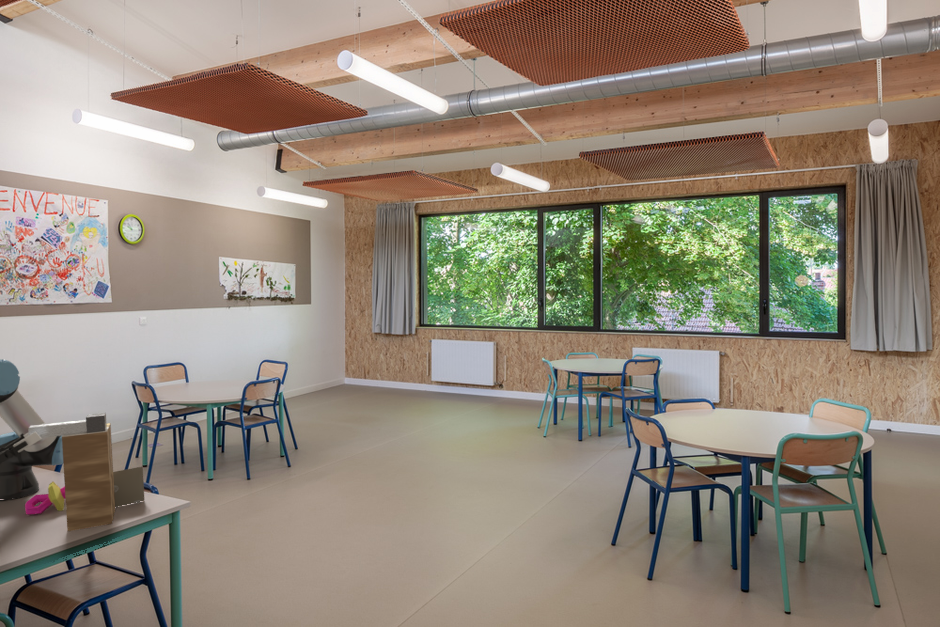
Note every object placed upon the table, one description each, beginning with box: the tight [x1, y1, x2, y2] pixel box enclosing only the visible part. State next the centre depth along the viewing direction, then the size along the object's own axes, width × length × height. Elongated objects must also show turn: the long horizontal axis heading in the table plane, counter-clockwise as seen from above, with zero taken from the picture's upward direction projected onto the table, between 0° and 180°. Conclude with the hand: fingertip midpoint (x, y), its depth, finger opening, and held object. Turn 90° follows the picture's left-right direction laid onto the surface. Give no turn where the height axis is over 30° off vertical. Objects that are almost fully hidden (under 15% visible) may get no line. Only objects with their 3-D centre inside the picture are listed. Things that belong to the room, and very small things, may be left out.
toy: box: [24, 481, 66, 516], centre depth 205 cm, size 10×18×10 cm
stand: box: [62, 422, 116, 532], centre depth 193 cm, size 13×12×30 cm
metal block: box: [28, 412, 108, 438], centre depth 187 cm, size 5×20×5 cm, turn 117°
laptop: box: [113, 466, 145, 508], centre depth 209 cm, size 18×12×13 cm
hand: (43, 430), depth 183 cm, fingers open, 13 cm apart
